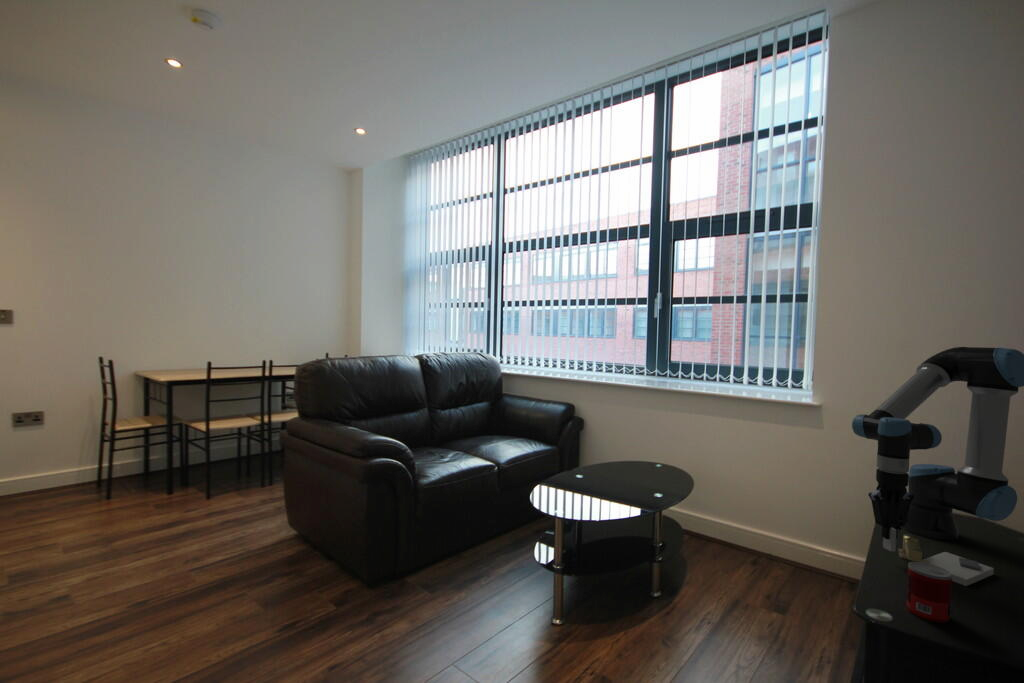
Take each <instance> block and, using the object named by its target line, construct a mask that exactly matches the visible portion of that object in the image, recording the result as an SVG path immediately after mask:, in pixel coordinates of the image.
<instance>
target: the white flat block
mask: <svg viewBox="0 0 1024 683" xmlns="http://www.w3.org/2000/svg"><path fill="white" fill-rule="evenodd" d="M922 562H923V563H928V564H932V565H935V566H938V567H941V568H943V569H945V570H947V571H949V572H950V573H951V574H952V582H954V583H957V584H959V585H961V586H965V587H968V586H971V585H973V584H974V583H977V582H979V581H981V580H984V579H986V578H988V577H989V578H990V577H991V576H993V575H994V571H995V570H994V568H995V567H994V568H993V567H991V566H988V565H985V564H983V563H979V562H978V561H976V560H971V559H967V558H965V557H962V556H959V555H956V554H954V553H953V554H952V553H950V552H947V551H943V552H940V553H937V554H935V555H931V556H929V557H926V558H924V559H923V558H922Z"/></svg>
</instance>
